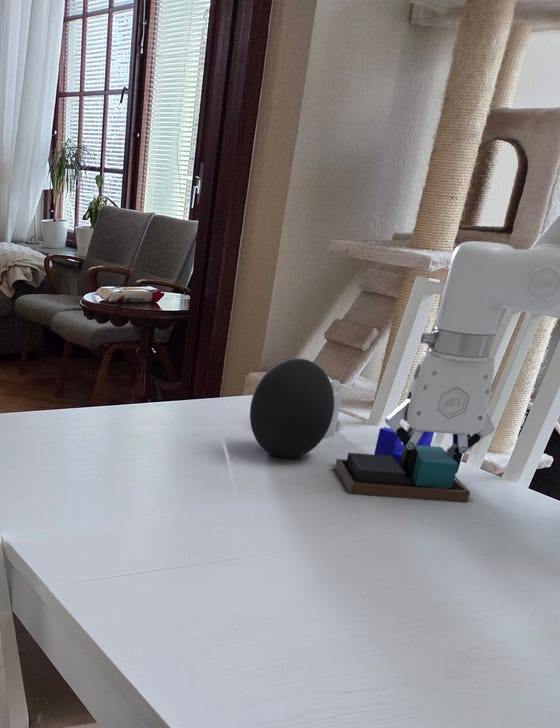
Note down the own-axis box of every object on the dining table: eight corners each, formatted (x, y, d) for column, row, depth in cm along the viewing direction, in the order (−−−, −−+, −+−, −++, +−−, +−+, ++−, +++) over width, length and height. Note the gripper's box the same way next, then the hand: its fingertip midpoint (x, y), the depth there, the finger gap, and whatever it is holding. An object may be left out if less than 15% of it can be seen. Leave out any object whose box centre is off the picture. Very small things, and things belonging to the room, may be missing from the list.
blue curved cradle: (397, 475, 129) (407, 435, 126) (371, 467, 131) (379, 428, 128) (435, 460, 136) (445, 423, 133) (410, 453, 139) (419, 416, 136)
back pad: (387, 475, 127) (392, 455, 125) (401, 493, 120) (406, 473, 118) (344, 472, 127) (348, 452, 125) (355, 490, 120) (359, 469, 118)
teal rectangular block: (435, 470, 126) (441, 446, 124) (451, 488, 119) (458, 464, 117) (401, 467, 126) (406, 444, 124) (415, 485, 119) (421, 461, 117)
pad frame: (442, 479, 128) (446, 466, 127) (466, 505, 118) (470, 492, 117) (334, 471, 129) (336, 458, 128) (348, 497, 119) (351, 483, 118)
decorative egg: (317, 448, 138) (335, 353, 131) (329, 473, 128) (349, 370, 120) (241, 443, 139) (254, 347, 132) (246, 466, 129) (261, 364, 121)
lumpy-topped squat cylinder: (336, 423, 153) (346, 373, 149) (332, 442, 142) (342, 389, 138) (278, 415, 156) (286, 367, 151) (269, 434, 145) (277, 382, 140)
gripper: (403, 345, 110) (371, 480, 119) (537, 354, 110) (495, 489, 119) (389, 334, 117) (360, 463, 126) (515, 343, 116) (477, 472, 125)
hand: (426, 474), depth 122 cm, fingers closed on teal rectangular block, 5 cm apart
